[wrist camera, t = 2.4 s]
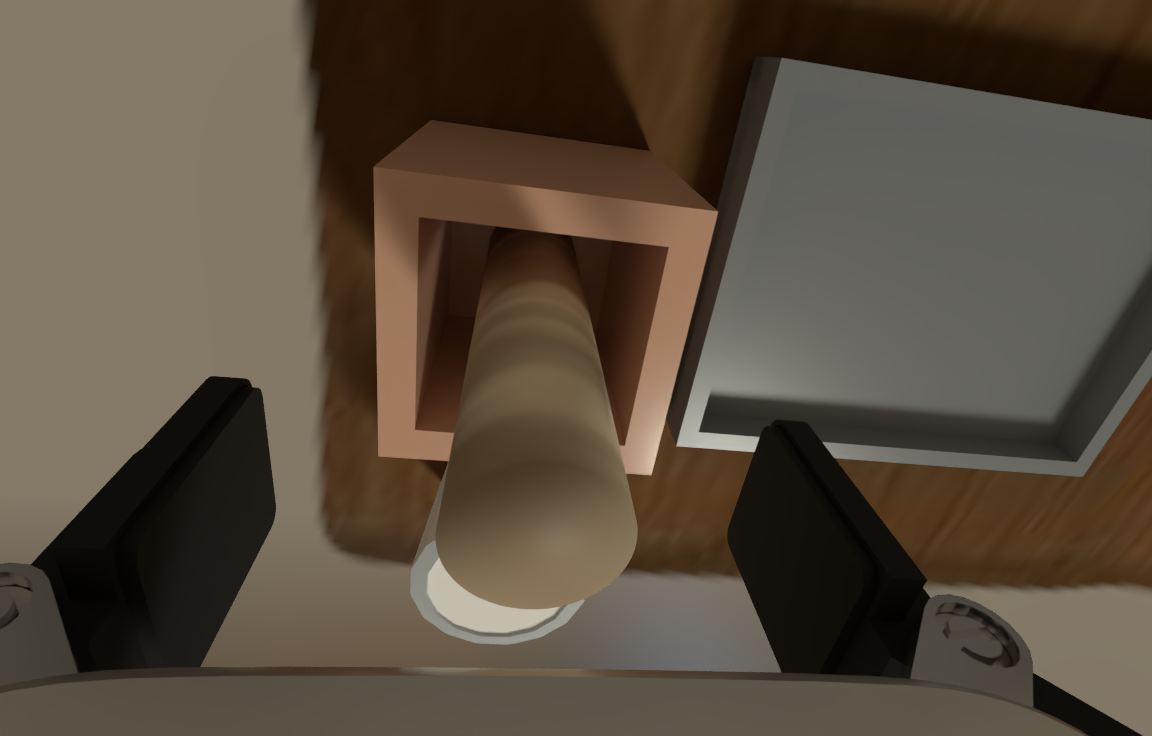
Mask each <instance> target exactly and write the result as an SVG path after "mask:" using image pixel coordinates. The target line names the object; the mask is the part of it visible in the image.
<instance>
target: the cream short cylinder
mask: <svg viewBox="0 0 1152 736" xmlns="http://www.w3.org/2000/svg"><path fill="white" fill-rule="evenodd" d="M448 463H449V461H448ZM447 468H448V464H447V467H446V469H445V472H444V475H443V478H442V481H441V484H440V487H439V490H438V493H437V496H436V498H435V501H434V504H433V507H432V510H431V513H430V516H429V519H428V522H427V525H426V527H425V530H424V533H423V536H422V539H421V542H420V545H419V548H418V551H417V554H416V557H415V559H414V562H413V565H412V568H411V589H410V594H411V597H412V598H413V600H414V602H415V604H416V605H417V607H418V609H419V611H420V612H421V614H422V616H423V617H424V618H425V619H427V620H428V621H429V622H431V623H432V624H433V625H435V626H436V627H438V628H439V629H440V630H442V631H443V632H445V633H446V634H448V635H452V636H455V637H458V638H461V639H464V640H468V641H471V642H474V643H483V644H513V643H517V642H522V641H526V640H531V639H535V638H540V637H542V636H544V635H546V634H547V633H549V632H551V631H553V630H554V629H556V628H558V627H560V626H562V625H563V624H565V623H567V622H568V620H569V619H570V618H571V617H572V616H573V614H574V613H575V612H576V611H577V610H578V608H579V607H580V606H581V605H582V604H583V603H584V599H583V600H581V601H578V602H575V603H572V604H568V605H565V606H561V607H555V608H549V609H518V608H510V607H505V606H500V605H497V604H494V603H490V602H488V601H485V600H483V599H481V598H478V597H477V596H475V595H473V594H471V593H469V592H468V591H466V590H465V589H464V588H462V587H461V586H460V585H459V584H458V583H456V582H455V581H454V580H453V579H452V578H451V576H450V575H449V574H448V573H447V571H446V570H445V568H444V566H443V565H442V563H441V561H440V558H439V556H438V553H437V548H436V527H437V522H438V516H439V511H440V506H441V500H442V495H443V490H444V484H445V479H446V474H447Z"/></svg>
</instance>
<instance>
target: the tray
mask: <svg viewBox="0 0 1152 736" xmlns="http://www.w3.org/2000/svg"><path fill="white" fill-rule="evenodd" d="M716 210H717V211H718V215H717V219H716V223H715V227H714V231H713V235H712V239H711V243H710V246H709V250H708V254H707V258H706V262H705V266H704V270H703V274H702V278H701V282H700V286H699V290H698V294H697V298H696V301H695V305H694V309H693V313H692V317H691V321H690V325H689V329H688V333H687V337H686V341H685V345H684V349H683V353H682V356H681V360H680V364H679V368H678V372H677V376H676V380H675V384H674V388H673V392H672V396H671V400H670V404H669V407H668V411H667V415H666V419H667V422H668V425H669V428H670V430H671V433H672V436H673V438H674V441H675V444H676V446H683V447H696V448H709V449H722V450H735V451H749V452H755V449H756V447H757V444H758V441H759V438H760V435H761V432H762V430H763V429H764V427H766V426H771V424H772V423H773V422H774V421H775V420H777V419H778V420H791V421H803V422H806V423H807V424H809V426H810V427H811V428H812V429H813V431H814V432H815V433H816V435H817V436H818V437H819V439H820V440H821V441H822V443H823V444H824V445H825V447H826V448H827V449H828V450H829V452H830V453H831V454H832V456H833V457H834V458H841V459H854V460H867V461H881V462H894V463H907V464H920V465H933V466H947V467H960V468H973V469H986V470H999V471H1013V472H1026V473H1039V474H1052V475H1065V476H1079V477H1083V475H1084V474H1085V473H1086V471H1087V470H1088V468H1089V467H1090V465H1091V464H1092V462H1093V461H1094V459H1095V458H1096V457H1097V455H1098V454H1099V452H1100V451H1101V449H1102V448H1103V446H1104V445H1105V443H1106V442H1107V440H1108V439H1109V438H1110V436H1111V435H1112V433H1113V432H1114V430H1115V429H1116V427H1117V426H1118V424H1119V423H1120V422H1121V420H1122V419H1123V417H1124V416H1125V414H1126V413H1127V411H1128V410H1129V408H1130V407H1131V406H1132V404H1133V403H1134V401H1135V400H1136V398H1137V397H1138V395H1139V394H1140V392H1141V391H1142V390H1143V388H1144V387H1145V385H1146V384H1147V382H1148V381H1149V379H1150V378H1151V376H1152V120H1150V119H1144V118H1138V117H1132V116H1126V115H1120V114H1114V113H1108V112H1102V111H1096V110H1090V109H1084V108H1078V107H1072V106H1066V105H1060V104H1054V103H1048V102H1042V101H1036V100H1030V99H1024V98H1018V97H1012V96H1007V95H1001V94H995V93H989V92H983V91H977V90H971V89H965V88H959V87H953V86H947V85H941V84H935V83H929V82H923V81H917V80H911V79H905V78H899V77H893V76H887V75H881V74H875V73H869V72H864V71H858V70H852V69H846V68H840V67H834V66H828V65H822V64H816V63H810V62H804V61H798V60H792V59H786V58H777V57H762V56H755V58H754V62H753V66H752V70H751V74H750V78H749V82H748V86H747V90H746V94H745V98H744V102H743V106H742V110H741V114H740V118H739V122H738V126H737V129H736V133H735V137H734V141H733V145H732V149H731V153H730V157H729V161H728V165H727V169H726V173H725V177H724V181H723V185H722V189H721V193H720V197H719V201H718V205H717V209H716Z"/></svg>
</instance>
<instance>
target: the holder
mask: <svg viewBox="0 0 1152 736" xmlns="http://www.w3.org/2000/svg"><path fill="white" fill-rule="evenodd" d="M373 169H374V226H375V283H376V340H377V397H378V454H379V456H381V457H396V458H410V459H425V460H439V461H449V458H450V452H451V447H452V442H453V436H454V431H455V426H456V420H457V415H458V410H459V404H460V399H461V394H462V388H463V383H464V378H465V372H466V367H467V362H468V356H469V351H470V346H471V340H472V335H473V330H474V324H475V319H476V314H477V308H478V303H479V298H480V292H481V287H482V282H483V276H484V271H485V266H486V260H487V255H488V250H489V244H490V239H491V236H492V233H493V231H494V229H495V228H496V226H498V227H506V228H514V229H523V230H531V231H539V232H548V233H556V234H564V235H571V236H572V240H573V244H574V248H575V253H576V257H577V261H578V266H579V270H580V275H581V279H582V283H583V288H584V292H585V297H586V301H587V305H588V310H589V314H590V319H591V323H592V327H593V332H594V336H595V341H596V345H597V349H598V354H599V358H600V363H601V367H602V371H603V376H604V380H605V384H606V389H607V393H608V398H609V402H610V406H611V411H612V415H613V420H614V424H615V428H616V433H617V437H618V442H619V446H620V450H621V455H622V459H623V464H624V468H625V472H626V473H628V474H643V475H651V474H652V470H653V466H654V462H655V459H656V455H657V451H658V447H659V443H660V439H661V435H662V431H663V427H664V423H665V419H666V415H667V411H668V407H669V404H670V400H671V396H672V392H673V388H674V384H675V380H676V376H677V372H678V368H679V364H680V360H681V356H682V353H683V349H684V345H685V341H686V337H687V333H688V329H689V325H690V321H691V317H692V313H693V309H694V305H695V301H696V298H697V294H698V290H699V286H700V282H701V278H702V274H703V270H704V266H705V262H706V258H707V254H708V250H709V246H710V243H711V239H712V235H713V231H714V227H715V223H716V219H717V215H718V211H717V210H716V209H715V208H714V207H713V206H712V205H710V204H709V203H708V202H707V201H706V200H705V199H704V198H703V197H701V196H700V195H699V194H698V193H697V192H696V191H695V190H694V189H692V188H691V187H690V186H689V185H688V184H687V183H686V182H685V181H683V180H682V179H681V178H680V177H679V176H678V175H677V174H676V173H675V172H673V171H672V170H671V169H670V168H669V167H668V166H667V165H666V164H664V163H663V162H662V161H661V160H660V159H659V158H658V157H657V156H655V155H654V154H653V153H652V152H651V151H647V150H640V149H633V148H626V147H619V146H612V145H605V144H598V143H591V142H583V141H576V140H569V139H562V138H555V137H548V136H541V135H534V134H527V133H520V132H513V131H506V130H499V129H492V128H485V127H478V126H471V125H464V124H457V123H450V122H442V121H435V120H430V121H429V122H428V123H427V124H425V125H424V126H423V127H422V128H420V129H419V130H418V131H417V132H416V133H414V134H413V135H412V136H411V137H409V138H408V139H407V140H406V141H404V142H403V143H402V144H401V145H400V146H398V147H397V148H396V149H395V150H393V151H392V152H391V153H390V154H388V155H387V156H386V157H385V158H384V159H382V160H381V161H380V162H379V163H377V164H376V165H375V166H374V167H373Z"/></svg>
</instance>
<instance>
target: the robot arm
mask: <svg viewBox="0 0 1152 736" xmlns="http://www.w3.org/2000/svg"><path fill="white" fill-rule="evenodd" d="M275 512H276V503H275V494H274V487H273V478H272V470H271V462H270V454H269V446H268V438H267V429H266V420H265V412H264V404H263V396H262V392H261V390H260V389H259V388H253V387H252V385H251V383H250V381H249V380H248V379H243V378H230V377H216V376H212V377H209V378H208V379H206V381H205V382H204V383H203V384H202V385H201V386H200V387H199V388H198V389H197V390H196V391H195V393H194V394H193V395H192V396H191V397H190V398H189V399H188V400H187V401H186V402H185V403H184V404H183V405H182V406H181V407H180V409H179V410H178V411H177V412H176V413H175V414H174V415H173V416H172V417H171V418H170V419H169V420H168V421H167V423H166V424H165V425H164V426H163V427H162V428H161V429H160V430H159V431H158V432H157V433H156V434H155V435H154V437H153V438H152V439H151V440H150V441H149V442H148V443H147V444H146V445H145V446H144V448H142V449H141V450H139V451H138V452H137V453H135V454H134V455H133V456H132V457H131V458H130V459H129V460H128V461H127V462H126V463H125V464H124V466H123V467H122V468H121V469H120V470H119V471H118V472H117V473H116V474H115V475H114V476H113V477H112V478H111V479H110V481H109V482H108V483H107V484H106V485H105V486H104V487H103V488H102V489H101V490H100V491H99V492H98V493H97V494H96V495H95V497H94V498H93V499H92V500H91V501H90V502H89V503H88V504H87V505H86V506H85V507H84V508H83V509H82V511H80V513H79V514H78V515H77V516H76V517H75V518H74V519H73V520H72V521H71V522H70V523H69V524H68V525H67V527H66V528H65V529H64V530H63V531H62V532H61V533H60V534H59V535H58V536H57V537H56V538H55V539H54V540H53V541H52V542H51V544H50V545H49V546H48V547H47V548H46V549H45V550H44V551H43V552H42V553H41V554H40V555H39V556H38V557H37V558H36V560H35V561H34V562H33V563H32V564H31V565H29V564H19V563H4V564H0V736H1142V735H1140V734H1139V733H1137V732H1135V731H1134V730H1132V729H1130V728H1128V727H1126V726H1125V725H1123V724H1121V723H1120V722H1118V721H1116V720H1114V719H1113V718H1111V717H1109V716H1107V715H1106V714H1104V713H1102V712H1100V711H1099V710H1097V709H1095V708H1093V707H1092V706H1090V705H1088V704H1086V703H1084V702H1083V701H1081V700H1079V699H1077V698H1076V697H1074V696H1073V695H1071V694H1069V693H1067V692H1065V691H1064V690H1062V689H1060V688H1059V687H1057V686H1055V685H1053V684H1052V683H1050V682H1048V681H1046V680H1045V679H1043V678H1041V677H1039V676H1038V675H1036V674H1034V673H1033V662H1032V658H1031V654H1030V650H1029V649H1028V647H1027V645H1026V644H1025V642H1024V640H1023V639H1022V637H1021V636H1020V635H1019V634H1018V633H1017V632H1016V631H1015V630H1014V629H1013V628H1012V626H1011V625H1010V624H1008V623H1007V622H1006V621H1004V620H1003V619H1002V618H1001V617H1000V616H998V615H997V614H996V613H994V612H992V611H991V610H989V609H987V608H985V607H984V606H982V605H981V604H979V603H976V602H974V601H971V600H969V599H966V598H964V597H959V596H954V595H937V596H934V597H932V598H930V597H929V595H928V594H927V593H926V591H925V590H924V589H923V586H924V584H925V583H926V581H927V579H926V578H925V577H924V575H923V574H922V573H921V571H920V570H919V569H918V567H917V566H916V565H915V563H914V562H913V561H912V560H911V558H910V557H909V556H908V554H907V553H906V552H905V550H904V549H903V548H902V546H901V545H900V544H899V542H898V541H897V540H896V538H895V537H894V536H893V535H892V533H891V532H890V531H889V529H888V528H887V527H886V525H885V524H884V523H883V521H882V520H881V519H880V517H879V516H878V515H877V514H876V512H875V511H874V510H873V508H872V507H871V506H870V504H869V503H868V502H867V500H866V499H865V498H864V496H863V495H862V494H861V493H860V491H859V490H858V489H857V487H856V486H855V485H854V483H853V482H852V481H851V479H850V478H849V477H848V475H847V474H846V473H845V472H844V470H843V469H842V468H841V466H840V465H839V464H838V462H837V461H836V460H835V458H834V457H833V456H832V454H831V453H830V452H829V450H828V449H827V448H826V447H825V445H824V444H823V443H822V441H821V440H820V439H819V437H818V436H817V435H816V433H815V432H814V431H813V429H812V428H811V427H810V426H809V424H807V423H806V422H803V421H791V420H778V419H777V420H775V421H774V422H773V423H772V424H771V426H766V427H764V429H763V430H762V432H761V435H760V438H759V441H758V444H757V447H756V449H755V452H754V455H753V458H752V461H751V464H750V467H749V470H748V472H747V475H746V478H745V481H744V484H743V487H742V490H741V493H740V496H739V498H738V501H737V504H736V507H735V510H734V513H733V516H732V519H731V522H730V524H729V528H728V544H729V547H730V550H731V552H732V555H733V557H734V559H735V562H736V564H737V566H738V569H739V571H740V574H741V576H742V578H743V581H744V583H745V586H746V588H747V590H748V593H749V595H750V597H751V600H752V602H753V605H754V607H755V609H756V612H757V614H758V616H759V619H760V621H761V624H762V626H763V629H764V631H765V633H766V636H767V638H768V641H769V643H770V645H771V648H772V650H773V652H774V655H775V657H776V660H777V662H778V664H779V667H780V669H781V672H782V673H767V672H766V673H765V672H712V671H661V670H594V669H518V668H517V669H516V668H515V669H514V668H421V667H416V668H415V667H414V668H413V667H200V666H201V664H202V662H203V660H204V658H205V656H206V654H207V652H208V651H209V649H210V647H211V644H212V643H213V641H214V638H215V637H216V635H217V633H218V631H219V629H220V627H221V625H222V623H223V621H224V619H225V617H226V615H227V613H228V611H229V609H230V607H231V606H232V604H233V602H234V600H235V598H236V596H237V594H238V591H239V590H240V588H241V586H242V584H243V582H244V580H245V578H246V576H247V574H248V572H249V570H250V568H251V566H252V564H253V562H254V560H255V559H256V557H257V555H258V553H259V551H260V549H261V547H262V545H263V543H264V541H265V539H266V537H267V535H268V533H269V531H270V529H271V527H272V525H273V522H274V519H275Z"/></svg>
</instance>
